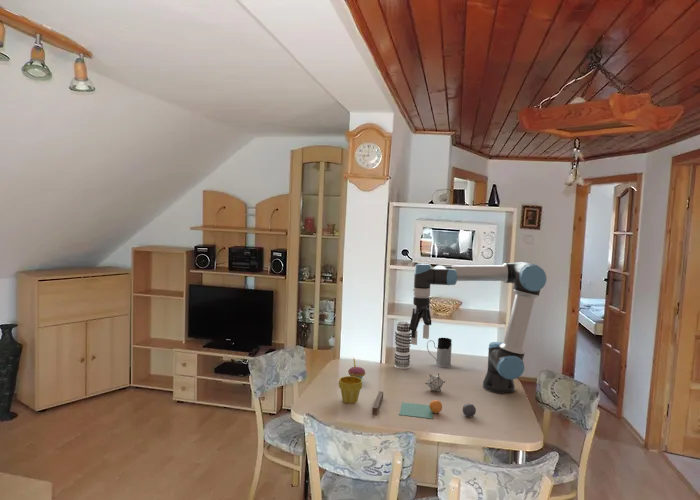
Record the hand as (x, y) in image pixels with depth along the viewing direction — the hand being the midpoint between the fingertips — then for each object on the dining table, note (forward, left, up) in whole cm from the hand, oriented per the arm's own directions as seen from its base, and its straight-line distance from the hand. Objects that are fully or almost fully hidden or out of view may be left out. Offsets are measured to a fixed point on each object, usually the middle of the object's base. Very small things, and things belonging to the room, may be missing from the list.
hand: (420, 341), depth 231 cm
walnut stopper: (+16, +21, -25) cm, 36 cm away
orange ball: (-9, +21, -22) cm, 32 cm away
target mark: (-1, +21, -25) cm, 33 cm away
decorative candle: (+11, -39, -25) cm, 48 cm away
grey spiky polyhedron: (-8, -6, -26) cm, 27 cm away
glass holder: (-9, -49, -25) cm, 56 cm away
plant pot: (+29, +19, -25) cm, 43 cm away
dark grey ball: (-23, +21, -22) cm, 38 cm away
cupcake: (+31, -8, -25) cm, 41 cm away
